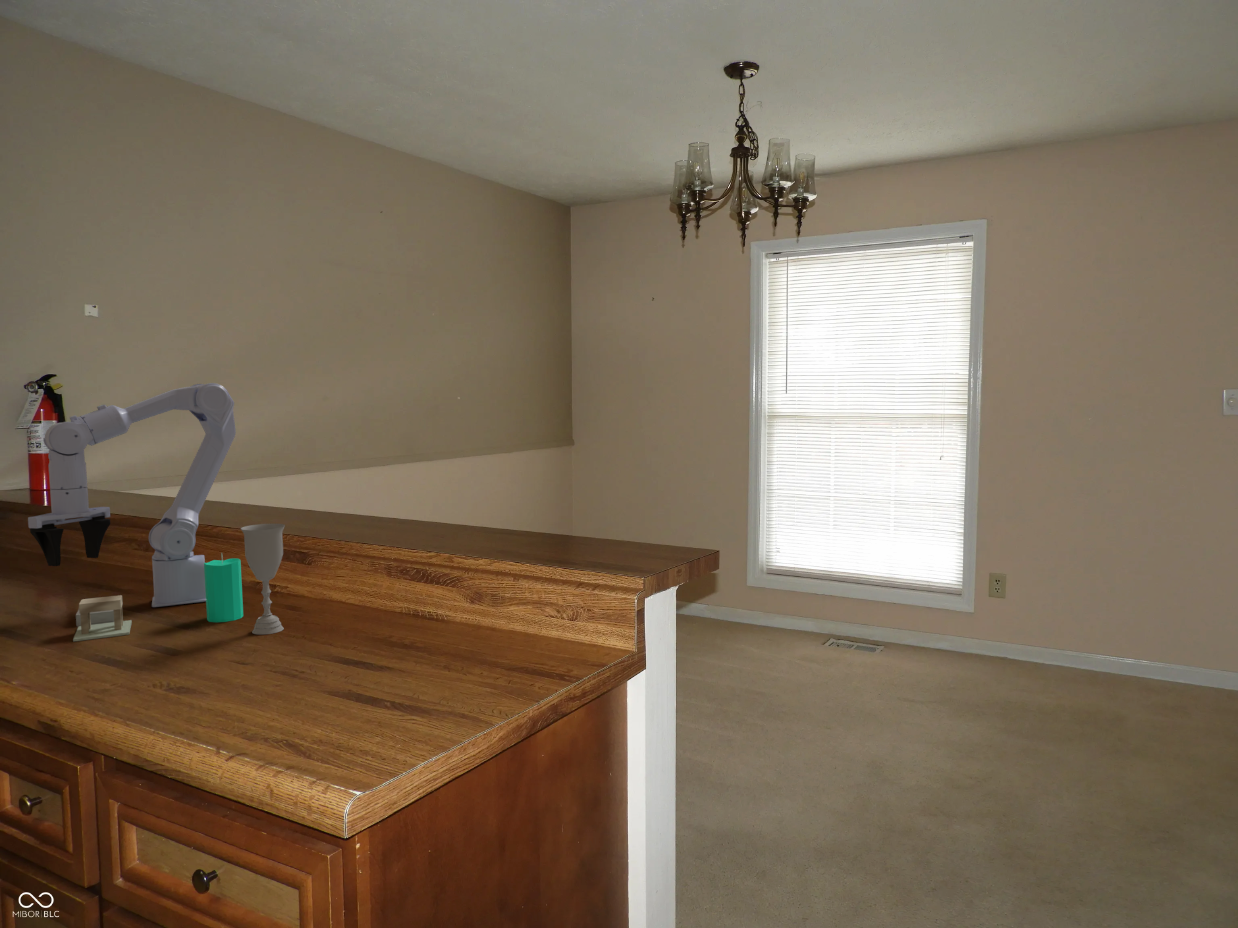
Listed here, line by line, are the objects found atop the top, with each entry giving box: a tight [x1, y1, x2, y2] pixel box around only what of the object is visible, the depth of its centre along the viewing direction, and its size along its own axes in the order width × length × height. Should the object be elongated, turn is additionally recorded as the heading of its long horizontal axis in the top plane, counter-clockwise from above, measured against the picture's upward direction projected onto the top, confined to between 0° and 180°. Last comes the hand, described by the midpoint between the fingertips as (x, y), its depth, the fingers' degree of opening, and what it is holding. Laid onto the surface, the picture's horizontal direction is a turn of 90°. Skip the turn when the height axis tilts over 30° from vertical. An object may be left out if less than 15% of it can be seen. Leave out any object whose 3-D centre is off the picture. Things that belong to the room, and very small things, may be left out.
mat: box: [72, 619, 133, 642], centre depth 143 cm, size 8×9×1 cm
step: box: [75, 608, 114, 627], centre depth 151 cm, size 6×7×2 cm
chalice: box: [240, 523, 286, 635], centre depth 142 cm, size 7×7×18 cm
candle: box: [204, 552, 244, 623], centre depth 150 cm, size 6×6×12 cm
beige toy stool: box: [78, 594, 124, 634], centre depth 143 cm, size 6×4×5 cm, turn 117°
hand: (73, 561), depth 152 cm, fingers open, 7 cm apart
